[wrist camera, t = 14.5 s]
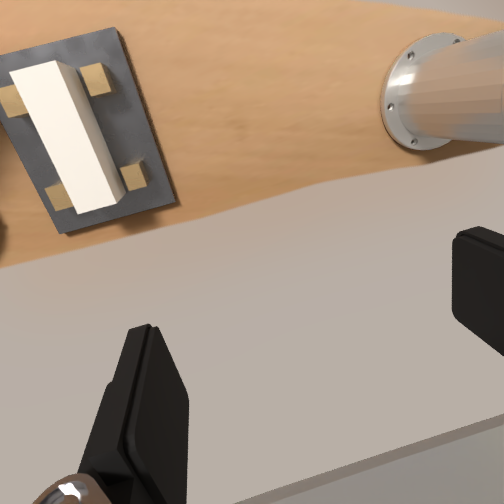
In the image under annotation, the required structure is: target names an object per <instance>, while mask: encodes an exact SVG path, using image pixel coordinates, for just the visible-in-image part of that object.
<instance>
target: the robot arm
mask: <svg viewBox="0 0 504 504" xmlns="http://www.w3.org/2000/svg"><path fill="white" fill-rule="evenodd" d="M407 56H408V57H407ZM388 106H389V108H387V107H388ZM381 114H382V119H383V122H384V125H385V127H386V130H387V131H388V133H389V134H390V136H391V137H392V138H393V139H394V140H395V141H396V142H397V143H399V144H401V145H402V146H404V147H407V148H410V149H415V150H431V149H435V148H438V147H441V146H443V145H445V144H447V143H449V142H450V141H451V140H464V141H475V142H487V143H498V144H504V30H500V31H497V32H493V33H490V34H486V35H483V36H480V37H476V38H473V39H469V40H465V39H464V38H463V37H461V36H458V35H456V34H453V33H437V34H432V35H429V36H426V37H423V38H421V39H419V40H417V41H415V42H413V43H412V44H411V45H410V46H408V47H407V48H406V49H405V50H404V51H403V52H402V53H401V54H400V55H399V56H398V57H397V58H396V60H395V61H394V63H393V64H392V66H391V67H390V69H389V72H388V74H387V76H386V78H385V81H384V85H383V88H382V94H381ZM411 141H412V142H411ZM452 312H453V315H454V317H455V318H456V319H457V320H458V321H459V322H460V323H462V324H463V325H464V326H465V327H467V328H468V329H469V330H471V331H472V332H473V333H474V334H476V335H477V336H478V337H479V338H481V339H482V340H483V341H484V342H486V343H487V344H488V345H490V346H491V347H492V348H493V349H495V350H496V351H497V352H499V353H500V354H501V355H502V356H504V235H502V234H499V233H497V232H494V231H492V230H489V229H486V228H484V227H480V226H477V227H474V228H470V229H467V230H463V231H460V232H459V233H457V236H456V238H454V239H453V242H452ZM188 423H189V398H188V394H187V391H186V388H185V386H184V384H183V382H182V379H181V377H180V375H179V373H178V370H177V368H176V366H175V363H174V361H173V359H172V357H171V354H170V352H169V350H168V348H167V345H166V343H165V341H164V338H163V336H162V334H161V332H160V330H159V328H158V327H157V326H156V327H152V326H151V325H150V324H146V325H142V326H139V327H135V328H132V329H129V331H128V334H127V337H126V340H125V343H124V346H123V349H122V352H121V356H120V359H119V362H118V365H117V368H116V371H115V374H114V378H113V380H112V382H110V383H109V384H108V385H107V387H106V389H105V392H104V395H103V398H102V401H101V404H100V407H99V410H98V413H97V416H96V419H95V422H94V425H93V428H92V431H91V433H90V436H89V440H88V442H87V445H86V448H85V451H84V454H83V457H82V460H81V463H80V466H79V469H78V472H77V474H72V475H68V476H66V477H64V478H62V479H60V480H58V481H57V482H55V483H54V484H53V485H51V486H50V487H49V488H47V489H46V490H45V491H44V492H43V493H42V494H41V495H40V496H39V497H38V498H37V499H36V500H35V501H34V502H33V504H186V496H187V462H188V426H189V424H188ZM235 504H504V414H502V415H499V416H496V417H493V418H490V419H486V420H483V421H480V422H477V423H474V424H471V425H468V426H465V427H462V428H459V429H456V430H453V431H450V432H447V433H443V434H441V435H437V436H434V437H431V438H429V439H425V440H422V441H419V442H416V443H413V444H410V445H407V446H404V447H401V448H398V449H395V450H392V451H389V452H385V453H382V454H379V455H376V456H374V457H370V458H367V459H364V460H361V461H358V462H355V463H352V464H349V465H347V466H343V467H340V468H337V469H334V470H332V471H329V472H325V473H322V474H319V475H316V476H313V477H310V478H307V479H304V480H301V481H298V482H295V483H292V484H289V485H286V486H283V487H280V488H277V489H274V490H271V491H269V492H266V493H263V494H260V495H257V496H254V497H251V498H249V499H246V500H243V501H240V502H237V503H235Z"/></svg>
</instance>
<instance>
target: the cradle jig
mask: <svg viewBox="0 0 504 504" xmlns="http://www.w3.org/2000/svg"><path fill="white" fill-rule="evenodd" d="M54 60H56V61H58V62H61V63H63V64H66V65H68V66H71V67H73V68H75V69H76V72H77V74H78V77H79V79H80V81H81V84H82V86H83V89H84V91H85V94H86V96H87V99H88V101H89V103H90V106H91V108H92V111H93V113H94V116H95V118H96V120H97V123H98V125H99V128H100V130H101V133H102V135H103V138H104V140H105V142H106V145H107V147H108V150H109V152H110V155H111V157H112V160H113V162H114V164H115V167H116V169H117V172H118V174H119V177H120V179H121V181H122V184H123V186H124V189H125V191H126V194H125V195H124V196H123V197H122V198H121V199H120V200H119V201H118V203H116V204H113V205H109V206H106V207H102V208H99V209H95V210H91V211H88V212H84V213H81V214H77V211H76V209H75V207H74V205H73V203H72V201H71V199H70V197H69V195H68V193H67V191H66V189H65V187H64V185H63V183H62V181H61V178H60V176H59V174H58V172H57V170H56V168H55V166H54V164H53V162H52V160H51V158H50V156H49V154H48V152H47V150H46V148H45V145H44V143H43V141H42V139H41V137H40V135H39V133H38V131H37V129H36V127H35V125H34V123H33V121H32V119H31V117H30V115H29V112H28V110H27V108H26V106H25V104H24V102H23V100H22V98H21V96H20V94H19V92H18V90H17V88H16V86H15V84H14V82H13V79H12V77H11V75H10V73H9V72H12V71H15V70H19V69H23V68H27V67H31V66H35V65H39V64H43V63H47V62H50V61H54ZM0 121H1V123H2V124H3V126H4V128H5V130H6V132H7V134H8V136H9V138H10V140H11V142H12V144H13V146H14V148H15V150H16V151H17V153H18V155H19V157H20V159H21V161H22V163H23V165H24V167H25V169H26V171H27V173H28V175H29V177H30V178H31V180H32V182H33V184H34V186H35V188H36V190H37V192H38V194H39V196H40V198H41V200H42V202H43V203H44V205H45V207H46V209H47V211H48V213H49V215H50V217H51V219H52V221H53V223H54V225H55V227H56V229H57V230H58V232H59V234H62V233H66V232H69V231H73V230H77V229H80V228H84V227H87V226H91V225H95V224H98V223H102V222H105V221H109V220H112V219H116V218H120V217H123V216H127V215H130V214H134V213H138V212H141V211H145V210H148V209H152V208H156V207H159V206H163V205H166V204H170V203H173V202H176V199H175V196H174V193H173V190H172V187H171V184H170V181H169V178H168V176H167V173H166V170H165V167H164V164H163V161H162V158H161V155H160V152H159V150H158V147H157V144H156V141H155V138H154V135H153V132H152V129H151V127H150V124H149V121H148V118H147V115H146V112H145V109H144V106H143V103H142V101H141V98H140V95H139V92H138V89H137V86H136V83H135V80H134V78H133V75H132V72H131V69H130V66H129V63H128V60H127V57H126V54H125V52H124V49H123V46H122V43H121V40H120V37H119V34H118V31H117V29H116V28H115V27H112V28H108V29H104V30H100V31H96V32H92V33H88V34H84V35H80V36H76V37H72V38H68V39H64V40H60V41H56V42H52V43H48V44H44V45H40V46H36V47H32V48H28V49H24V50H20V51H16V52H12V53H8V54H4V55H0Z"/></svg>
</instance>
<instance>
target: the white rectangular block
mask: <svg viewBox="0 0 504 504" xmlns="http://www.w3.org/2000/svg"><path fill="white" fill-rule="evenodd" d="M9 73H10V75H11V77H12V79H13V82H14V84H15V86H16V88H17V90H18V92H19V94H20V96H21V98H22V100H23V102H24V104H25V106H26V108H27V110H28V112H29V115H30V117H31V119H32V121H33V123H34V125H35V127H36V129H37V131H38V133H39V135H40V137H41V139H42V141H43V143H44V145H45V148H46V150H47V152H48V154H49V156H50V158H51V160H52V162H53V164H54V166H55V168H56V170H57V172H58V174H59V176H60V178H61V181H62V183H63V185H64V187H65V189H66V191H67V193H68V195H69V197H70V199H71V201H72V203H73V205H74V207H75V209H76V211H77V214H81V213H84V212H88V211H91V210H95V209H99V208H102V207H106V206H109V205H113V204H116V203H118V201H119V200H120V199H121V198H122V197H123V196H124V195H125V194H126V191H125V189H124V186H123V184H122V181H121V179H120V177H119V174H118V172H117V169H116V167H115V164H114V162H113V160H112V157H111V155H110V152H109V150H108V147H107V145H106V142H105V140H104V138H103V135H102V133H101V130H100V128H99V125H98V123H97V120H96V118H95V116H94V113H93V111H92V108H91V106H90V103H89V101H88V99H87V96H86V94H85V91H84V89H83V86H82V84H81V81H80V79H79V77H78V74H77V72H76V69H75V68H73V67H71V66H68V65H66V64H63V63H61V62H58V61H56V60H54V61H50V62H47V63H43V64H39V65H35V66H31V67H27V68H23V69H19V70H15V71H12V72H9Z"/></svg>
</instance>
